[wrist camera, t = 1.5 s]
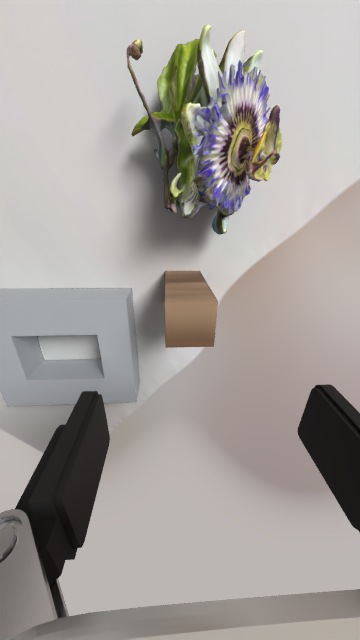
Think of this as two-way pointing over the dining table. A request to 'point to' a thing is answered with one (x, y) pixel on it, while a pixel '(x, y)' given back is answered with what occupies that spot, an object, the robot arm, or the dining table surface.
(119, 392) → the well block
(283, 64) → the dining table surface
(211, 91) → the passion flower
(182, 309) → the wood grain block
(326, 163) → the dining table surface
